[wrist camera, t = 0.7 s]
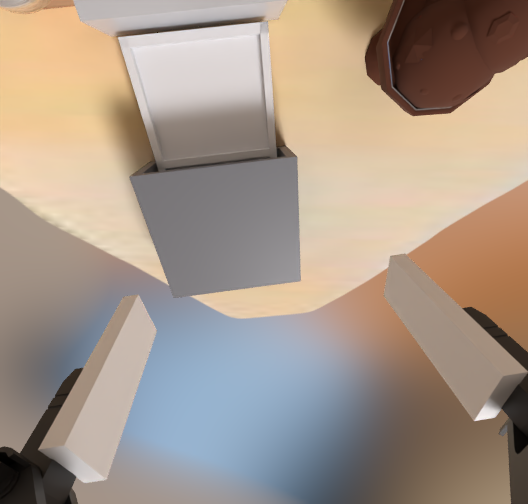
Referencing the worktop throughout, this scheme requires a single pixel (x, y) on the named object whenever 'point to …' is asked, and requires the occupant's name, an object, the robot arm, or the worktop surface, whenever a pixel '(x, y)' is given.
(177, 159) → the tray
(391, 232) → the worktop surface
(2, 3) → the disc
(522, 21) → the ice cream bowl
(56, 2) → the block
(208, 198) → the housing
